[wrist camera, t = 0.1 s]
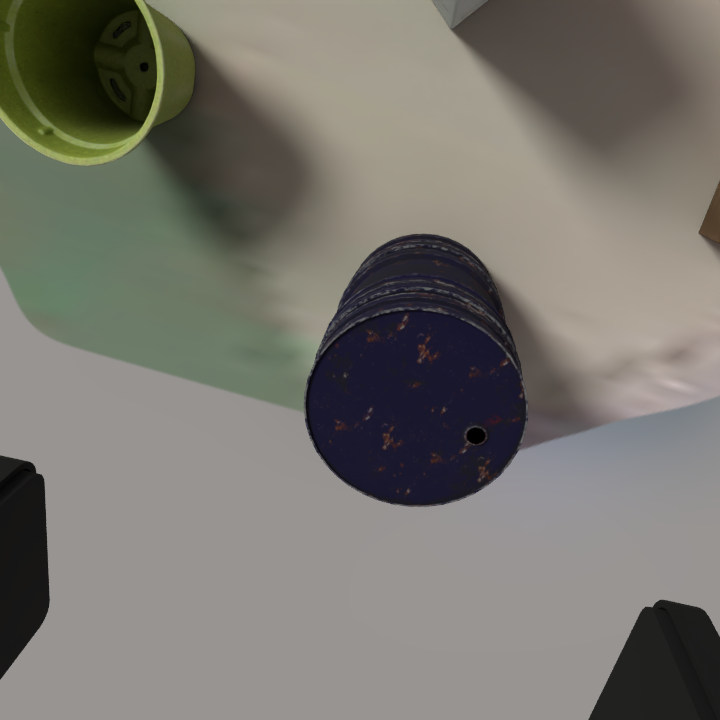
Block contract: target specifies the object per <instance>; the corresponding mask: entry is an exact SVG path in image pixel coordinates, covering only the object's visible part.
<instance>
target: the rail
mask: <svg viewBox="0 0 720 720" xmlns="http://www.w3.org/2000/svg"><path fill="white" fill-rule="evenodd" d="M699 233H700V234H702V235H704V236H706V237H708V238H710V239H712V240H714V241H716V242H718V243H720V182H719V184H718V187H717V189H716V192H715V194H714V197H713V199H712V202H711V204H710V206H709V209H708V211H707V214H706V216H705V219H704V221H703V224H702V226H701V229H700V231H699Z"/></svg>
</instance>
